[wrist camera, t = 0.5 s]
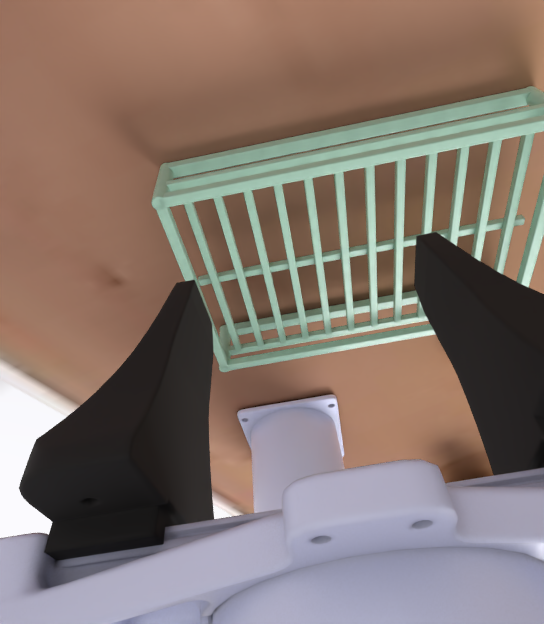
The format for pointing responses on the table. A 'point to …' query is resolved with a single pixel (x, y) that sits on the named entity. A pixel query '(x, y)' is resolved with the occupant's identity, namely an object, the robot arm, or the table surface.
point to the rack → (336, 161)
